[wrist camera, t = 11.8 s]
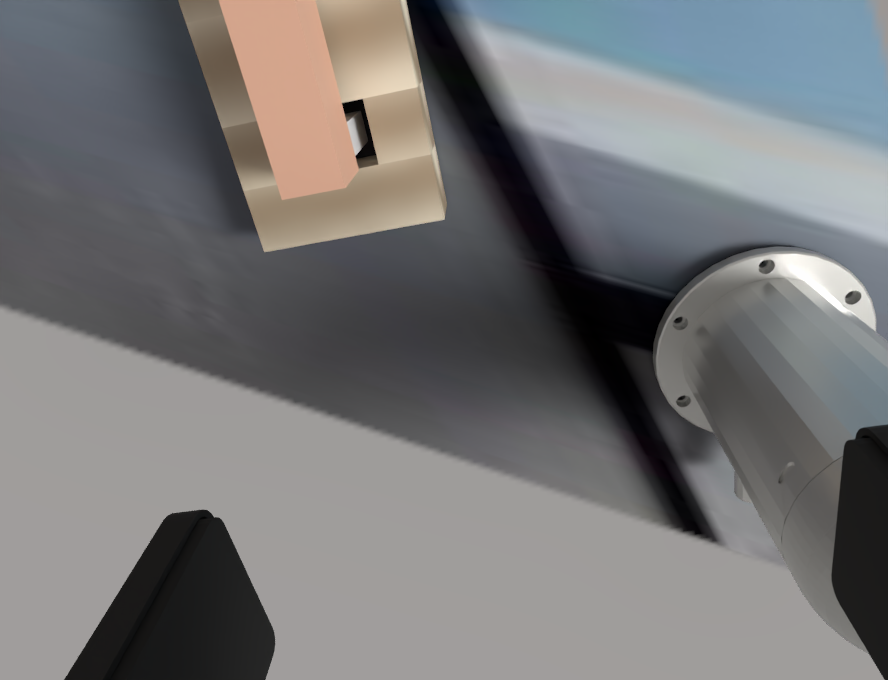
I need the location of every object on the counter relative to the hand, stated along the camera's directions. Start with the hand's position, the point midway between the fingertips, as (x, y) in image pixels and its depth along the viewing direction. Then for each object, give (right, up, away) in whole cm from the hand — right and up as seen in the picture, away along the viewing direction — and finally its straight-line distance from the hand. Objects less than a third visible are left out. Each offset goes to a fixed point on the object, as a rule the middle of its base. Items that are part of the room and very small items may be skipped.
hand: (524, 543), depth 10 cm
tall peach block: (-8, +18, +23) cm, 30 cm away
